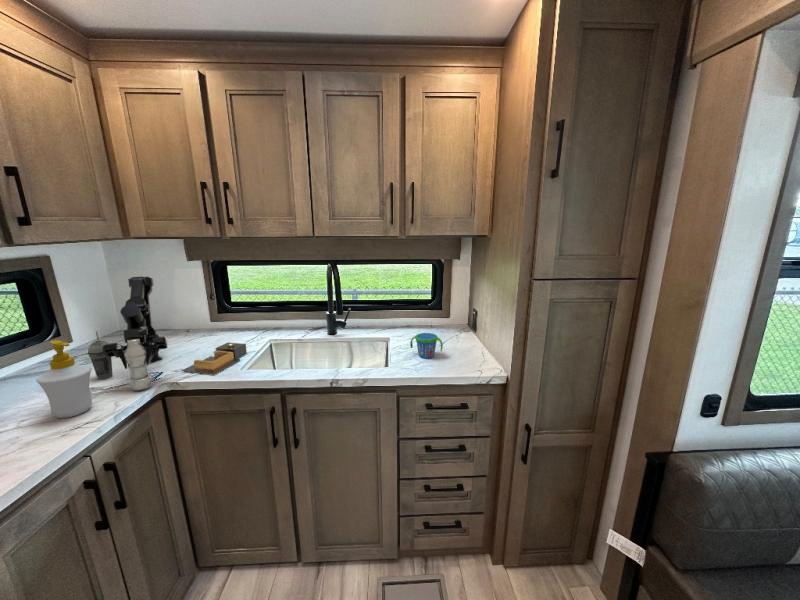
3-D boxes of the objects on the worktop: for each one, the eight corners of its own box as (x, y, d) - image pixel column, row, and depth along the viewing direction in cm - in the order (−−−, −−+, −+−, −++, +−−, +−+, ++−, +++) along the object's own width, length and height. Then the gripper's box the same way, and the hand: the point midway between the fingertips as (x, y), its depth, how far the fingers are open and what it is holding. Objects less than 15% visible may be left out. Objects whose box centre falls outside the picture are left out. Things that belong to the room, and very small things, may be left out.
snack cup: (406, 357, 156) (407, 336, 154) (415, 350, 165) (415, 330, 163) (438, 362, 150) (438, 341, 148) (444, 355, 159) (445, 335, 157)
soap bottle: (59, 426, 100) (40, 351, 95) (37, 417, 105) (18, 345, 100) (107, 406, 112) (93, 337, 107) (86, 399, 117) (71, 333, 111)
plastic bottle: (140, 393, 120) (132, 342, 116) (125, 391, 122) (116, 341, 118) (156, 385, 127) (149, 336, 122) (142, 384, 128) (134, 335, 124)
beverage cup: (114, 371, 139) (106, 326, 135) (118, 376, 134) (109, 330, 130) (91, 377, 133) (81, 331, 129) (95, 383, 129) (85, 334, 124)
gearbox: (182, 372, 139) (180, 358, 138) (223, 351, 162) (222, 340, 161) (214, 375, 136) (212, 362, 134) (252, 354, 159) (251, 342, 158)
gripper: (98, 323, 117) (96, 362, 110) (162, 316, 127) (163, 352, 120) (107, 338, 125) (106, 375, 119) (166, 330, 135) (168, 364, 128)
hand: (136, 366), depth 121 cm, fingers closed on plastic bottle, 6 cm apart
